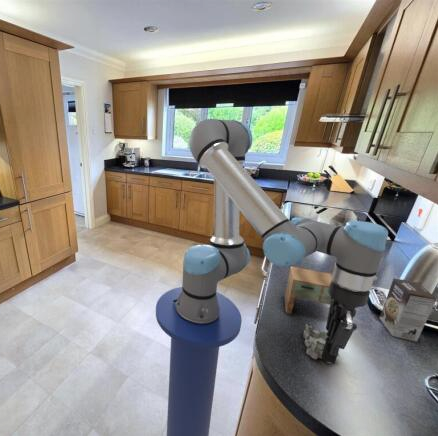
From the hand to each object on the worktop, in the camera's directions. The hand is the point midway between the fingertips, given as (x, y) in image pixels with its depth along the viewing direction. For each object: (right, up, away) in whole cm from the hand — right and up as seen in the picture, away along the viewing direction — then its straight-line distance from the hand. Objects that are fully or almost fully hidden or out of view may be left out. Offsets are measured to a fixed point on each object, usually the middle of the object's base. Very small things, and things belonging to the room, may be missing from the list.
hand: (327, 359), depth 66 cm
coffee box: (+33, +2, +14) cm, 36 cm away
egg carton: (+2, 0, +6) cm, 6 cm away
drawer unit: (+10, +5, +22) cm, 24 cm away
